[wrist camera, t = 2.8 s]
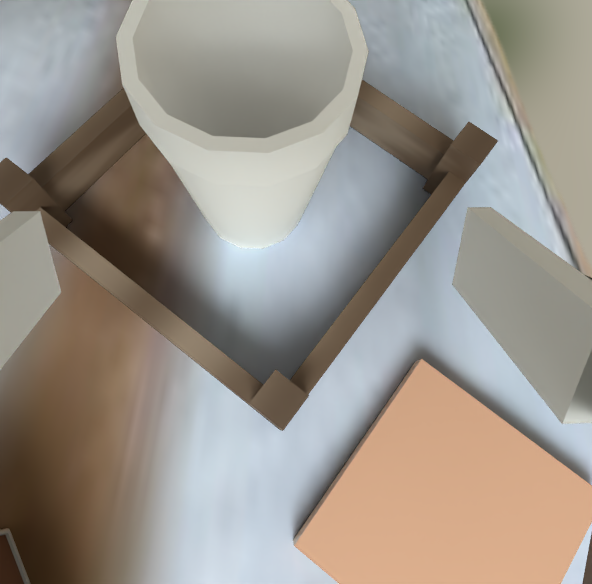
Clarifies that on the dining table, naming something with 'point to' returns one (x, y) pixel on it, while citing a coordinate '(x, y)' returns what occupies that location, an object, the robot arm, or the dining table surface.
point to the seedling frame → (263, 398)
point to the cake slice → (10, 561)
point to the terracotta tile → (447, 498)
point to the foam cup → (244, 101)
